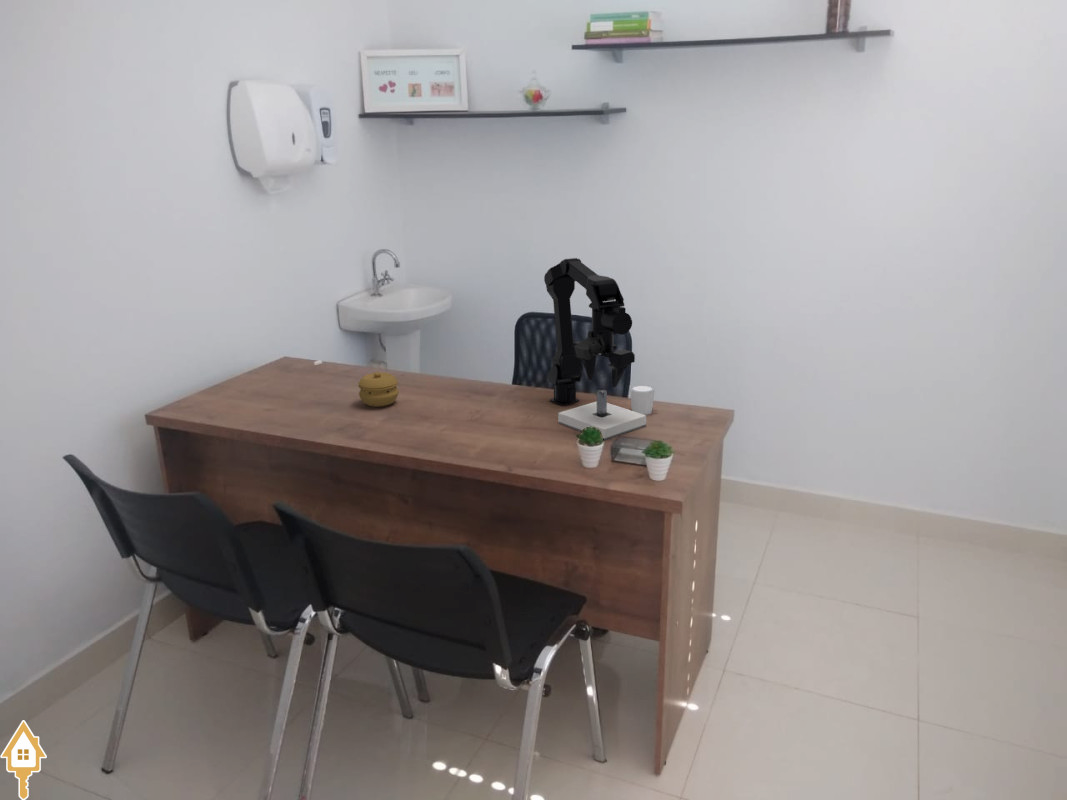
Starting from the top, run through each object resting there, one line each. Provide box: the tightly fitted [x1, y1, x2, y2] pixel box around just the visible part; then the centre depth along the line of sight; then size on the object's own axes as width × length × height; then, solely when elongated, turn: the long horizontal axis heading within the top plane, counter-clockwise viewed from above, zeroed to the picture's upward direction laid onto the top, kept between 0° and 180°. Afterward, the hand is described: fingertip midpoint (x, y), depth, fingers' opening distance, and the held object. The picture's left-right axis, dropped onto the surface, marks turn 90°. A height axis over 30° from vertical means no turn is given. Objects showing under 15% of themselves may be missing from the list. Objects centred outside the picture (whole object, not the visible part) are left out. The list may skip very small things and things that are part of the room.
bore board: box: [557, 400, 647, 441], centre depth 226 cm, size 18×16×3 cm
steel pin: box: [595, 389, 608, 418], centre depth 225 cm, size 3×3×9 cm
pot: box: [357, 371, 400, 408], centre depth 246 cm, size 12×12×10 cm
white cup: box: [629, 384, 656, 416], centre depth 235 cm, size 7×7×7 cm
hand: (602, 383), depth 223 cm, fingers open, 9 cm apart
